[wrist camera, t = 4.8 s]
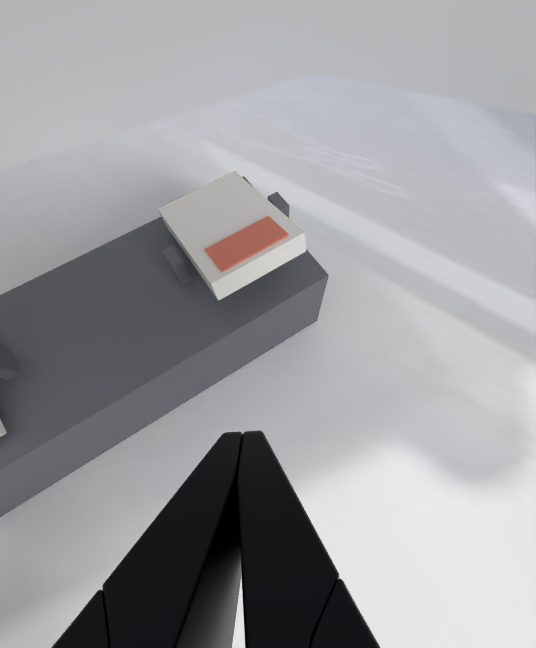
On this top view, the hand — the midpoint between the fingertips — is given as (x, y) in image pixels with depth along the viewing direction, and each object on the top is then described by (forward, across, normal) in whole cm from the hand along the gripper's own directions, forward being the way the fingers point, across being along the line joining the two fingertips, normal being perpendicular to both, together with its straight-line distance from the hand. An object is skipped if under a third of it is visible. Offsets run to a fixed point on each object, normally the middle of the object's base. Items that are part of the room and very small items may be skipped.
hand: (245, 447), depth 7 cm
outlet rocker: (+12, +1, -4) cm, 13 cm away
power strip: (+14, +8, +5) cm, 17 cm away
